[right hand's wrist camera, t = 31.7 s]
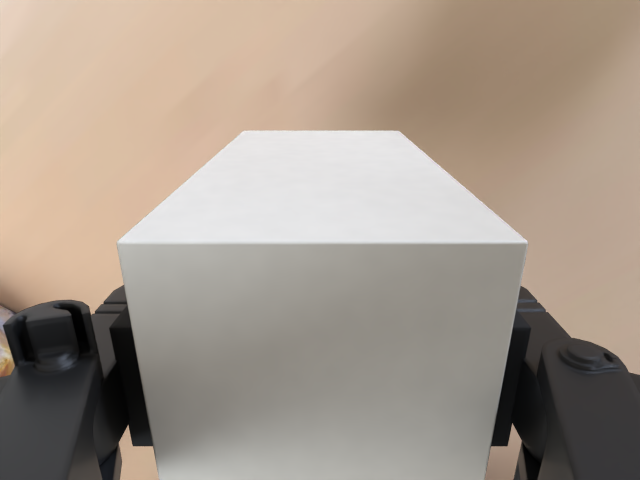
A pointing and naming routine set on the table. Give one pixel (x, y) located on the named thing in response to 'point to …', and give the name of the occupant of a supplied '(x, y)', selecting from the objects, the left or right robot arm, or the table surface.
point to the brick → (322, 313)
